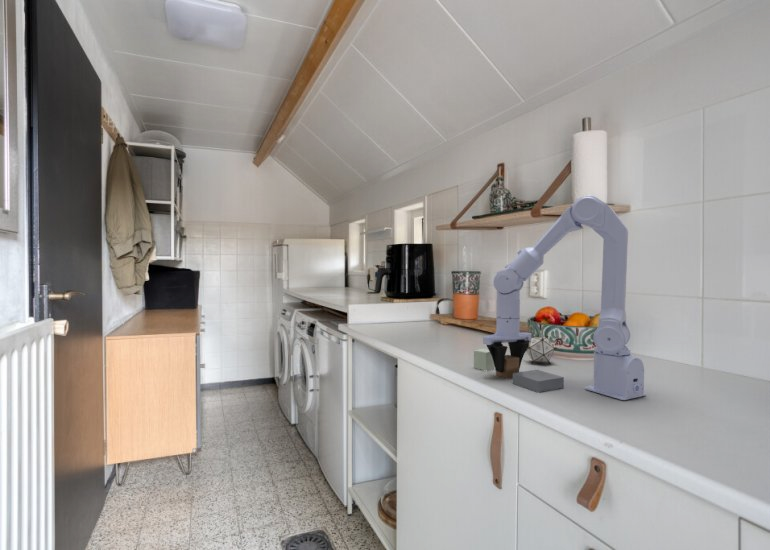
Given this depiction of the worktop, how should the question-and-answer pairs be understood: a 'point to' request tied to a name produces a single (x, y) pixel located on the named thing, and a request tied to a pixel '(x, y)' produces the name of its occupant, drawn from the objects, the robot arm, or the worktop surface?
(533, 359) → the game die
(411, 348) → the worktop surface
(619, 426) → the worktop surface
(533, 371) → the slate tile
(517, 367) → the walnut block
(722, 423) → the worktop surface
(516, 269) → the robot arm
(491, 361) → the sage block
